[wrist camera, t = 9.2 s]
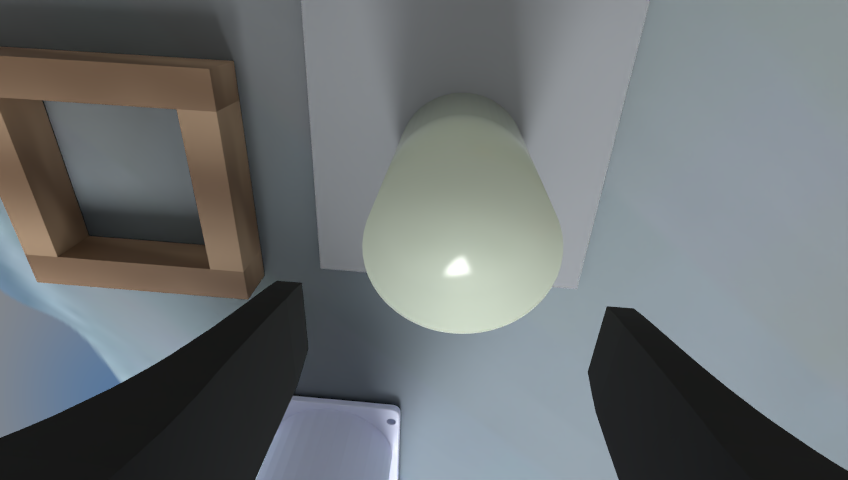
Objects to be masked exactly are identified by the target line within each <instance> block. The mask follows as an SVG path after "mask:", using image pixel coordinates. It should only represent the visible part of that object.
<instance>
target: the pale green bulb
mask: <svg viewBox="0 0 848 480" xmlns="http://www.w3.org/2000/svg"><path fill="white" fill-rule="evenodd" d="M362 249H363V259H364V264H365V268H366V271H367V274H368V277H369V279H370V281H371V283H372V285H373V287H374V288H375V289H376V291H377V292H378V294H379V295H380V297H381V298H382V299H383V300H384V301H385V302H386V303H387V304H388V305H389V306H390V307H391V308H392V309H393V310H395V311H396V312H397V313H399V314H400V315H402V316H403V317H404V318H406V319H408V320H410V321H412V322H414V323H415V324H418V325H420V326H423V327H425V328H429V329H432V330H436V331H440V332H446V333H457V334H469V333H479V332H486V331H490V330H494V329H497V328H500V327H503V326H505V325H508V324H510V323H512V322H514V321H516V320H518V319H520V318H521V317H523V316H524V315H526V314H527V313H529V312H530V311H531V310H532V309H533V308H535V307H536V306H537V305H538V304H539V303H540V302H541V301H542V300H543V298H544V297H545V296H546V295H547V293H548V292H549V290H550V289H551V288H552V286H553V284H554V282H555V280H556V278H557V276H558V273H559V270H560V267H561V262H562V257H563V236H562V230H561V226H560V223H559V220H558V217H557V215H556V213H555V210H554V208H553V206H552V204H551V201H550V199H549V197H548V195H547V192H546V190H545V188H544V185H543V183H542V181H541V179H540V176H539V174H538V172H537V169H536V167H535V165H534V163H533V160H532V158H531V156H530V154H529V151H528V149H527V147H526V144H525V142H524V140H523V138H522V135H521V133H520V131H519V128H518V126H517V124H516V123H515V121H514V119H513V118H512V117H511V115H510V114H509V113H508V112H507V111H506V110H505V109H504V108H503V107H502V106H501V105H499V104H498V103H496V102H495V101H493V100H491V99H489V98H487V97H484V96H481V95H478V94H473V93H451V94H447V95H443V96H440V97H438V98H435V99H433V100H431V101H430V102H428V103H426V104H425V105H424V106H422V107H421V108H420V109H419V110H418V111H417V112H416V113H415V114H414V115H413V116H412V118H411V119H410V120H409V122H408V124H407V125H406V127H405V129H404V132H403V134H402V136H401V139H400V141H399V144H398V146H397V148H396V151H395V153H394V156H393V158H392V161H391V163H390V165H389V168H388V170H387V173H386V175H385V178H384V180H383V182H382V185H381V187H380V190H379V192H378V195H377V197H376V199H375V202H374V204H373V207H372V209H371V211H370V214H369V216H368V219H367V221H366V225H365V229H364V233H363V242H362Z"/></svg>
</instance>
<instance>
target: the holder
mask: <svg viewBox="0 0 848 480" xmlns="http://www.w3.org/2000/svg"><path fill="white" fill-rule="evenodd" d="M42 100H45V101H60V102H75V103H90V104H105V105H120V106H135V107H150V108H166V109H177V114H178V118H179V123H180V128H181V133H182V137H183V142H184V147H185V152H186V156H187V161H188V166H189V171H190V176H191V180H192V185H193V190H194V195H195V199H196V204H197V209H198V214H199V218H200V223H201V228H202V233H203V237H204V242H205V245H198V244H185V243H173V242H160V241H147V240H134V239H121V238H109V237H96V236H89V234H88V231H87V228H86V226H85V223H84V220H83V217H82V214H81V211H80V208H79V205H78V202H77V200H76V197H75V194H74V191H73V188H72V185H71V182H70V179H69V177H68V174H67V171H66V168H65V165H64V162H63V159H62V156H61V153H60V151H59V148H58V145H57V142H56V139H55V136H54V133H53V130H52V127H51V125H50V122H49V119H48V116H47V113H46V110H45V107H44V104H43V101H42ZM0 197H1V199H2V202H3V204H4V206H5V209H6V211H7V213H8V215H9V218H10V220H11V222H12V225H13V227H14V229H15V232H16V234H17V236H18V239H19V241H20V243H21V246H22V248H23V250H24V252H25V255H26V257H27V259H28V262H29V264H30V266H31V269H32V271H33V273H34V276H35V278H36V280H37V282H42V283H54V284H66V285H78V286H90V287H102V288H114V289H126V290H138V291H151V292H163V293H175V294H187V295H199V296H211V297H223V298H235V299H247V300H248V299H249V298H250V296H251V295H252V293H253V292H254V290H255V289H256V287H257V286H258V284H259V283H260V282H261V280H262V279H263V277H264V276H265V275H264V268H263V261H262V254H261V247H260V241H259V234H258V227H257V220H256V213H255V206H254V199H253V192H252V185H251V178H250V171H249V164H248V157H247V150H246V143H245V136H244V129H243V122H242V115H241V108H240V101H239V94H238V87H237V80H236V73H235V66H234V61H227V60H211V59H195V58H178V57H162V56H146V55H130V54H114V53H98V52H81V51H65V50H49V49H33V48H17V47H1V46H0Z"/></svg>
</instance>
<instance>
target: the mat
mask: <svg viewBox="0 0 848 480" xmlns="http://www.w3.org/2000/svg"><path fill="white" fill-rule="evenodd" d="M649 3H650V0H301V8H302V22H303V35H304V49H305V63H306V77H307V91H308V104H309V118H310V132H311V146H312V159H313V173H314V187H315V201H316V214H317V228H318V242H319V256H320V269H330V270H343V271H355V272H367V271H366V268H365V264H364V259H363V249H362V242H363V233H364V229H365V225H366V221H367V219H368V216H369V214H370V211H371V209H372V207H373V204H374V202H375V199H376V197H377V195H378V192H379V190H380V187H381V185H382V182H383V180H384V178H385V175H386V173H387V170H388V168H389V165H390V163H391V161H392V158H393V156H394V153H395V151H396V148H397V146H398V144H399V141H400V139H401V136H402V134H403V132H404V129H405V127H406V125H407V124H408V122H409V120H410V119H411V118H412V116H413V115H414V114H415V113H416V112H417V111H418V110H419V109H420V108H421V107H422V106H424V105H425V104H426V103H428V102H430V101H431V100H433V99H435V98H438V97H440V96H443V95H447V94H451V93H473V94H478V95H481V96H484V97H487V98H489V99H491V100H493V101H495V102H496V103H498V104H499V105H501V106H502V107H503V108H504V109H505V110H506V111H507V112H508V113H509V114H510V115H511V117H512V118H513V119H514V121H515V123H516V124H517V126H518V128H519V131H520V133H521V135H522V138H523V140H524V142H525V144H526V147H527V149H528V151H529V154H530V156H531V158H532V160H533V163H534V165H535V167H536V169H537V172H538V174H539V176H540V179H541V181H542V183H543V185H544V188H545V190H546V192H547V195H548V197H549V199H550V201H551V204H552V206H553V208H554V210H555V213H556V215H557V217H558V220H559V223H560V226H561V230H562V236H563V257H562V262H561V267H560V270H559V273H558V276H557V278H556V280H555V282H554V284H553V286H552V287H557V288H569V289H577V287H578V283H579V279H580V275H581V271H582V267H583V263H584V260H585V256H586V252H587V248H588V244H589V240H590V236H591V232H592V228H593V224H594V220H595V216H596V212H597V208H598V204H599V200H600V196H601V192H602V188H603V185H604V181H605V177H606V173H607V169H608V165H609V161H610V157H611V153H612V149H613V145H614V141H615V137H616V133H617V129H618V125H619V121H620V117H621V113H622V109H623V106H624V102H625V98H626V94H627V90H628V86H629V82H630V78H631V74H632V70H633V66H634V62H635V58H636V54H637V50H638V46H639V42H640V38H641V34H642V31H643V27H644V23H645V19H646V15H647V11H648V7H649Z"/></svg>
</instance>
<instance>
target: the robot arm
mask: <svg viewBox="0 0 848 480" xmlns="http://www.w3.org/2000/svg"><path fill="white" fill-rule="evenodd" d="M307 351H308V340H307V330H306V320H305V310H304V300H303V290H302V283H297V282H285V281H276V282H275V283H273V284H272V285H270V286H269V287H267V288H266V289H264V290H263V291H262V292H260V293H259V294H258V295H256V296H255V297H254V298H252V299H251V300H250V301H248V302H247V303H246V304H244V305H243V306H241V307H240V308H239V309H237V310H236V311H235V312H233V313H232V314H230V315H229V316H228V317H226V318H225V319H223V320H222V321H221V322H219V323H218V324H216V325H215V326H214V327H212V328H211V329H209V330H208V331H206V332H205V333H203V334H202V335H200V336H199V337H197V338H196V339H194V340H193V341H191V342H190V343H188V344H186V345H185V346H183V347H182V348H180V349H179V350H177V351H176V352H174V353H173V354H171V355H170V356H168V357H166V358H165V359H163V360H161V361H160V362H158V363H156V364H154V365H153V366H151V367H149V368H148V369H146V370H144V371H142V372H140V373H139V374H137V375H135V376H133V377H131V378H129V379H128V380H126V381H124V382H122V383H120V384H118V385H116V386H115V387H113V388H111V389H109V390H107V391H104V392H102V393H100V394H98V395H96V396H94V397H92V398H90V399H88V400H86V401H84V402H82V403H79V404H77V405H75V406H73V407H71V408H69V409H67V410H65V411H63V412H61V413H58V414H56V415H54V416H52V417H50V418H47V419H45V420H43V421H40V422H38V423H36V424H33V425H31V426H29V427H26V428H24V429H21V430H19V431H16V432H14V433H11V434H9V435H6V436H4V437H1V438H0V480H255V479H256V476H257V474H258V472H259V469H260V467H261V465H262V467H261V469H260V472H259V474H258V476H257V479H256V480H398V477H399V447H400V417H401V411H400V409H399V407H397V406H395V405H390V404H379V403H368V402H357V401H346V400H335V399H324V398H313V397H302V396H293V394H294V392H295V389H296V387H297V384H298V381H299V378H300V375H301V372H302V369H303V365H304V362H305V358H306V355H307ZM588 375H589V381H590V386H591V391H592V396H593V401H594V406H595V410H596V414H597V417H598V420H599V423H600V426H601V429H602V432H603V435H604V438H605V441H606V444H607V447H608V450H609V453H610V456H611V459H612V461H613V464H614V467H615V470H616V473H617V476H618V479H619V480H848V471H847V470H845V469H844V468H842V467H840V466H839V465H837V464H835V463H834V462H832V461H831V460H829V459H827V458H826V457H824V456H823V455H821V454H820V453H818V452H817V451H815V450H813V449H812V448H810V447H809V446H807V445H806V444H805V443H803V442H802V441H800V440H799V439H797V438H796V437H794V436H793V435H791V434H790V433H788V432H787V431H785V430H784V429H783V428H781V427H780V426H778V425H777V424H775V423H774V422H772V421H771V420H770V419H768V418H767V417H765V416H764V415H763V414H761V413H760V412H759V411H757V410H756V409H755V408H753V407H752V406H751V405H749V404H748V403H747V402H745V401H744V400H743V399H742V398H740V397H739V396H738V395H736V394H735V393H734V392H733V391H731V390H730V389H729V388H727V387H726V386H725V385H724V384H722V383H721V382H720V381H719V380H717V379H716V378H715V377H714V376H712V375H711V374H710V373H709V372H708V371H706V370H705V369H704V368H703V367H702V366H700V365H699V364H698V363H697V362H696V361H695V360H693V359H692V358H691V357H690V356H689V355H688V354H686V353H685V352H684V351H683V350H682V349H681V348H679V347H678V346H677V345H676V344H675V343H674V342H673V341H671V340H670V339H669V338H668V337H667V336H666V335H665V334H663V333H662V332H661V331H660V330H659V329H658V328H657V327H655V326H654V325H653V324H652V323H651V322H650V321H648V320H647V319H646V318H645V317H644V316H642V315H641V314H640V313H639V312H637V311H636V310H635V309H633V308H620V307H607V308H606V311H605V315H604V318H603V322H602V325H601V329H600V332H599V335H598V339H597V342H596V346H595V349H594V353H593V356H592V359H591V363H590V366H589V370H588ZM266 454H267V455H266ZM265 456H266V457H265ZM264 458H265V460H264ZM263 461H264V462H263ZM262 463H263V464H262Z"/></svg>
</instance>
